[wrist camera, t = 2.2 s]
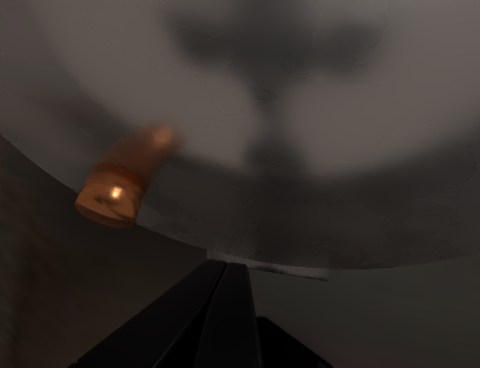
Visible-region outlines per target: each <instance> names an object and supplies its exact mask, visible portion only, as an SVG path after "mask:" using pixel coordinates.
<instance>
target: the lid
mask: <svg viewBox="0 0 480 368" xmlns="http://www.w3.org/2000/svg"><path fill="white" fill-rule="evenodd" d="M0 133H1V134H2V135H3V136H4V137H5V138H6V139H7V140H8V141H9V142H10V143H11V144H12V145H14V146H15V147H16V148H17V149H18V150H19V151H21V152H22V153H23V154H24V155H25V156H26V157H28V158H29V159H30V160H31V161H33V162H34V163H35V164H37V165H38V166H39V167H41V168H42V169H43V170H44V171H46V172H47V173H48V174H50V175H51V176H52V177H54V178H55V179H57V180H58V181H60V182H61V183H63V184H64V185H66V186H67V187H69V188H70V189H72V190H73V191H75V192H77V193H78V194H79V196H78V198H77V200H76V202H75V207H76V208H77V210H78V211H79V212H80V213H81V214H83V215H84V216H86V217H87V218H89V219H91V220H93V221H95V222H98V223H100V224H103V225H106V226H110V227H115V228H129V227H132V226H133V225H134V223H135V224H137V225H140V226H142V227H144V228H146V229H149V230H151V231H154V232H157V233H159V234H162V235H164V236H167V237H169V238H172V239H175V240H178V241H181V242H184V243H187V244H190V245H193V246H196V247H200V248H203V249H207V260H208V259H217V260H223V261H226V262H227V263H229V262H235V263H241V264H246V265H247V266H248V268H249V269H255V270H261V271H267V272H273V273H279V274H285V275H291V276H297V277H303V278H309V279H315V280H322V281H328V276H329V270H330V269H377V268H392V267H402V266H410V265H418V264H426V263H431V262H437V261H442V260H447V259H453V258H457V257H461V256H465V255H469V254H473V253H477V252H480V0H0Z"/></svg>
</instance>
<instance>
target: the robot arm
mask: <svg viewBox="0 0 480 368" xmlns="http://www.w3.org/2000/svg"><path fill="white" fill-rule="evenodd" d="M263 325H265V326H263ZM67 368H333V367H332V366H331V365H330V364H329V363H327V362H326V361H325V360H323V359H322V358H321V357H319V356H318V355H316V354H315V353H314V352H312V351H311V350H310V349H308V348H307V347H305V346H304V345H303V344H301V343H300V342H299V341H297V340H296V339H295V338H293V337H292V336H290V335H289V334H288V333H286V332H285V331H284V330H282V329H281V328H279V327H278V326H277V325H275V324H274V323H273V322H271V321H270V320H268V319H267V318H263V317H262V318H259V319H257V320H256V314H255V307H254V301H253V295H252V289H251V283H250V277H249V271H248V266H247V265H246V264H241V263H235V262H229V263H227V262H226V261H223V260H217V259H208V260H206V261H205V262H204V263H202V264H201V265H200V266H198V267H197V268H196V269H194V270H193V271H192V272H191V273H189V274H188V275H187V276H185V277H184V278H183V279H182V280H180V281H179V282H178V283H176V284H175V285H174V286H172V287H171V288H170V289H169V290H167V291H166V292H165V293H163V294H162V295H161V296H160V297H158V298H157V299H156V300H154V301H153V302H152V303H150V304H149V305H148V306H147V307H145V308H144V309H143V310H141V311H140V312H139V313H137V314H136V315H135V316H134V317H132V318H131V319H130V320H128V321H127V322H126V323H125V324H123V325H122V326H121V327H119V328H118V329H117V330H115V331H114V332H113V333H112V334H110V335H109V336H108V337H106V338H105V339H104V340H103V341H101V342H100V343H99V344H97V345H96V346H95V347H93V348H92V349H91V350H90V351H88V352H87V353H86V354H84V355H83V356H82V357H81V358H79V359H78V360H77V363H73V364H71V365H70V366H69V367H67Z"/></svg>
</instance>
